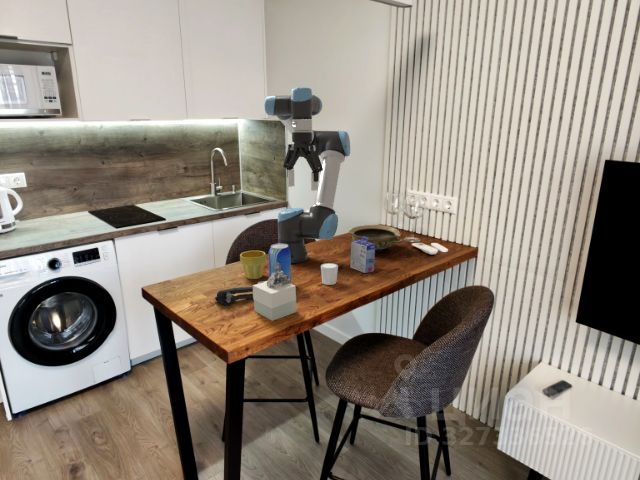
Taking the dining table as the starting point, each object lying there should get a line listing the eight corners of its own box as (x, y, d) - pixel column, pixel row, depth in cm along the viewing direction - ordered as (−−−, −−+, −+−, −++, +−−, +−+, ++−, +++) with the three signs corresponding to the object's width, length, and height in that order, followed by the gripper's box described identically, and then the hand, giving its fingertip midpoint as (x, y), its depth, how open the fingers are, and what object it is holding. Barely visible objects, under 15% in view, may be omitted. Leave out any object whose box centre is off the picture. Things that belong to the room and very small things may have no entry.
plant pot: (239, 273, 180) (238, 251, 177) (263, 271, 183) (262, 249, 181) (243, 282, 171) (242, 258, 168) (269, 279, 174) (268, 256, 171)
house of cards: (276, 276, 150) (276, 255, 148) (294, 282, 145) (293, 260, 143) (256, 282, 144) (255, 260, 142) (274, 289, 138) (273, 266, 136)
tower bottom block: (254, 312, 145) (254, 298, 144) (278, 303, 152) (277, 290, 150) (272, 321, 138) (271, 307, 137) (296, 312, 145) (296, 299, 143)
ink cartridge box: (375, 271, 183) (376, 238, 179) (365, 274, 180) (366, 240, 176) (359, 265, 191) (359, 233, 187) (349, 267, 188) (350, 235, 184)
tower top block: (253, 299, 143) (252, 285, 142) (276, 291, 150) (276, 277, 148) (272, 308, 136) (271, 293, 135) (295, 299, 143) (295, 285, 141)
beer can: (282, 290, 162) (281, 250, 158) (265, 286, 167) (263, 246, 162) (295, 283, 169) (294, 244, 165) (278, 279, 173) (277, 241, 169)
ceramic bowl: (335, 250, 213) (335, 230, 210) (361, 240, 231) (362, 221, 229) (388, 262, 195) (389, 240, 192) (412, 250, 213) (413, 230, 211)
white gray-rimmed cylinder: (325, 286, 166) (325, 269, 164) (317, 280, 172) (317, 264, 170) (341, 283, 169) (341, 266, 168) (332, 278, 175) (332, 261, 173)
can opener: (218, 309, 147) (217, 293, 146) (213, 301, 153) (212, 286, 152) (267, 299, 155) (267, 285, 153) (261, 293, 161) (260, 279, 159)
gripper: (273, 131, 167) (274, 185, 172) (317, 132, 149) (317, 193, 155) (288, 130, 172) (289, 183, 177) (332, 132, 154) (332, 190, 160)
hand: (302, 188), depth 166 cm, fingers open, 13 cm apart
